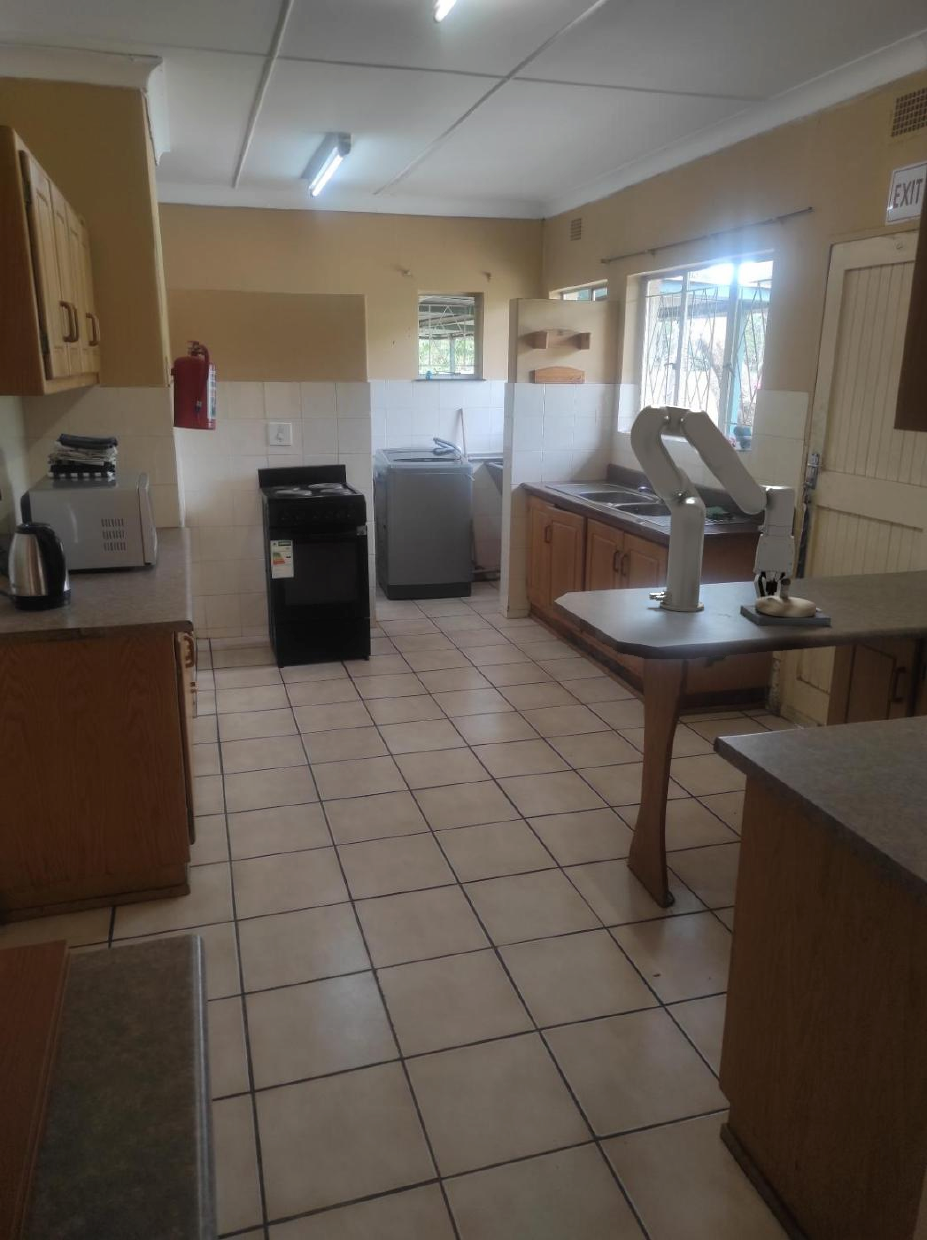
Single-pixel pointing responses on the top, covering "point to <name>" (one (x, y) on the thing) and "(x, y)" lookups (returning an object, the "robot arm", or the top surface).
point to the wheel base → (783, 618)
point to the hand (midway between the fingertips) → (770, 594)
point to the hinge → (764, 586)
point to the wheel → (785, 603)
